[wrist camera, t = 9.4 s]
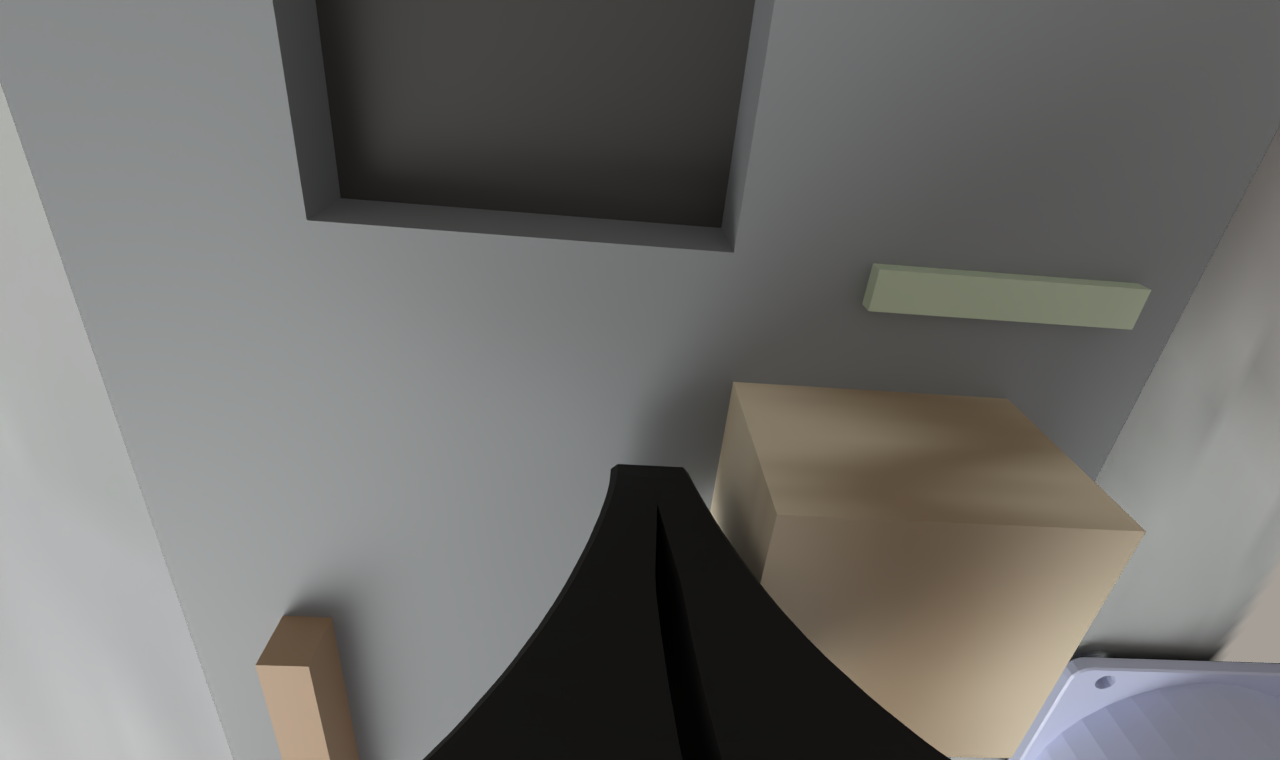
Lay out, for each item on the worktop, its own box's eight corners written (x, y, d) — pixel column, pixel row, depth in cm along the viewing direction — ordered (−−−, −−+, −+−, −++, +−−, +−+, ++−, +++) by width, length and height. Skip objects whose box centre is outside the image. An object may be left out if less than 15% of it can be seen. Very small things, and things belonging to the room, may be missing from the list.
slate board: (1437, -401, 8) (1775, -575, 6) (910, 739, 19) (952, 841, 17) (-131, -655, 7) (-525, -1014, 4) (268, 725, 18) (215, 833, 15)
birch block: (1007, 398, 12) (1146, 531, 9) (925, 597, 14) (1011, 757, 11) (733, 381, 11) (776, 514, 8) (696, 589, 14) (720, 752, 11)
